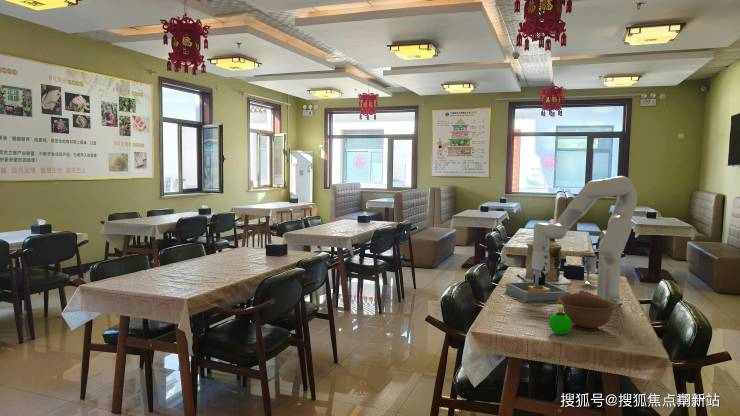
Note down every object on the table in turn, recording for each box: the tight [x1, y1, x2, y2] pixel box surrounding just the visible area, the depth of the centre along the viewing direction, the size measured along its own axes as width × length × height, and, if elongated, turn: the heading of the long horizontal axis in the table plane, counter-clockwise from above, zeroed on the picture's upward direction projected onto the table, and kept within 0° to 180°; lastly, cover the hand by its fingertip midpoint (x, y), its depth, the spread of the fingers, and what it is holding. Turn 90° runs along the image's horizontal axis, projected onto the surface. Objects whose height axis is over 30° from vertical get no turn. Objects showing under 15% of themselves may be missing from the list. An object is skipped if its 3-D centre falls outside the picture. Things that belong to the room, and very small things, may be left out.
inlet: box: [528, 286, 550, 293], centre depth 249 cm, size 8×8×2 cm
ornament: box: [548, 307, 573, 336], centre depth 188 cm, size 8×8×10 cm
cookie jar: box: [516, 238, 572, 286], centre depth 284 cm, size 25×25×32 cm
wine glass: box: [580, 254, 598, 285], centre depth 278 cm, size 8×8×15 cm
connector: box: [535, 270, 544, 289], centre depth 249 cm, size 4×4×10 cm
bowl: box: [558, 293, 619, 332], centre depth 197 cm, size 22×22×11 cm
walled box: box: [505, 281, 571, 304], centre depth 246 cm, size 22×22×4 cm
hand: (539, 283), depth 249 cm, fingers closed on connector, 4 cm apart
